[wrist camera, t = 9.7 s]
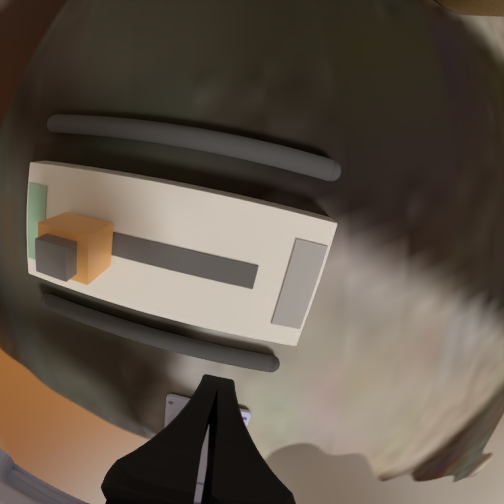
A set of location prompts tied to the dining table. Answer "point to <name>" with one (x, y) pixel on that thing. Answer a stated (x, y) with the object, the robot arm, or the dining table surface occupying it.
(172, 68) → the dining table surface
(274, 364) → the dressed cords
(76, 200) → the white slider switch panel
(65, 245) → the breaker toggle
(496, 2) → the plant pot
